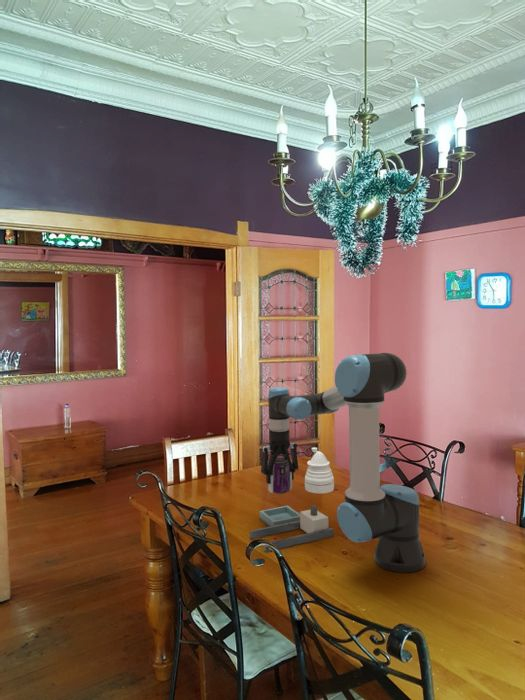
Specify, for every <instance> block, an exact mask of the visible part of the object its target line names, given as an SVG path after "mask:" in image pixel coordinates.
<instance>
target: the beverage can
mask: <svg viewBox="0 0 525 700" xmlns="http://www.w3.org/2000/svg"><path fill="white" fill-rule="evenodd" d="M274 463H275V464H274V466H273V470H272V473H271V475H273V494H278V495H283V494H287V493H289V491H291V490H290V478H289V463H288V460H286V459H285V458H284V457H277V458H276V460H275V462H274Z"/></svg>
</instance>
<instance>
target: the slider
mask: <svg viewBox="0 0 525 700" xmlns="http://www.w3.org/2000/svg"><path fill="white" fill-rule="evenodd" d="M309 507H310V509H306V510H301V511H299V514H300V529H301V530H302V531H304V532H305V534H307V533H311V532H316V531H320V530H325V529H329V516H327V515H325V514H324V513H322V512H320V511H319V510H318V505H316V504H311V505H310V506H309Z"/></svg>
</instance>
